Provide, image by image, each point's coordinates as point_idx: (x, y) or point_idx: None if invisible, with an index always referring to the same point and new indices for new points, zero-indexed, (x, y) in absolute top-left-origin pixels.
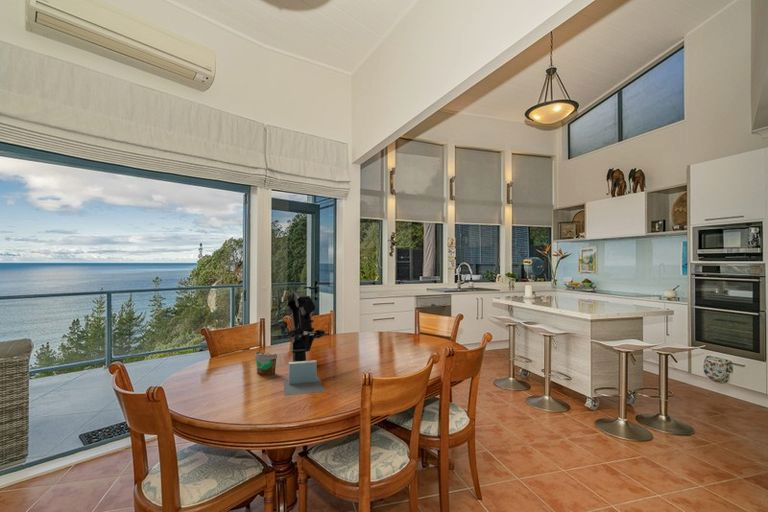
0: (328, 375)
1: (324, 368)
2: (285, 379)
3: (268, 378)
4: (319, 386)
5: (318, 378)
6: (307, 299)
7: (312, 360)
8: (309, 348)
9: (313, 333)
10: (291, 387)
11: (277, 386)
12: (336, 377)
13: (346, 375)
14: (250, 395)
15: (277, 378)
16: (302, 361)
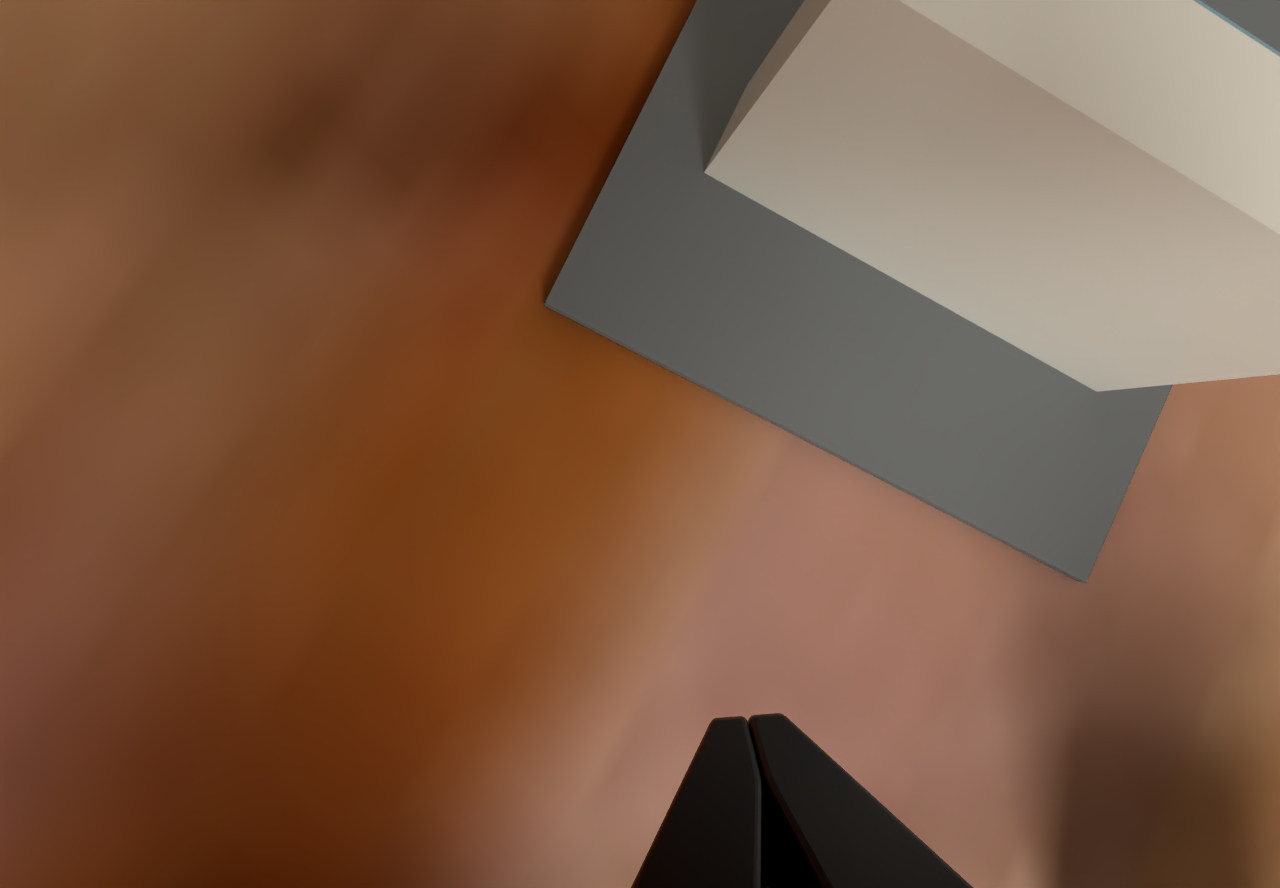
0: (342, 273)
1: (130, 732)
2: (1068, 564)
3: (1209, 834)
4: None
5: (621, 210)
6: None
7: (943, 30)
8: (752, 750)
9: None
10: None
11: (1256, 386)
12: (289, 61)
13: (43, 8)
14: None
15: (1109, 741)
16: (1198, 154)
